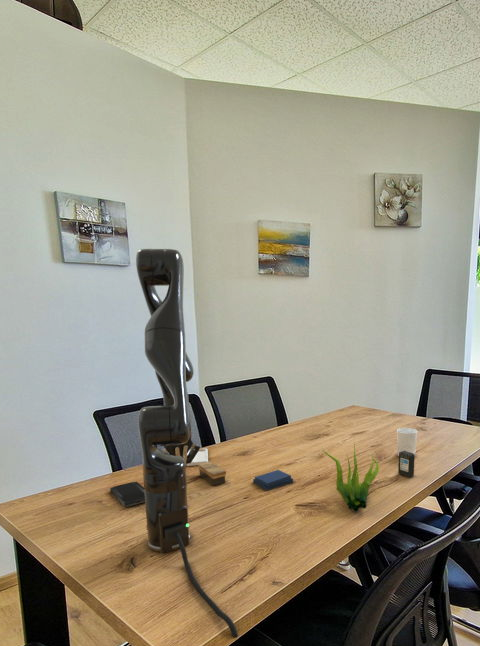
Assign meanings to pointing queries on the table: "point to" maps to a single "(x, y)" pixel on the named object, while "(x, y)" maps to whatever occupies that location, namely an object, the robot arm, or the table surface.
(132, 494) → the phone
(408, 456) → the ink cartridge
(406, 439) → the white cup
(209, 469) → the tan two-tone block
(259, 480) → the folded cloth
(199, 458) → the phone case
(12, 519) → the table surface
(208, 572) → the table surface
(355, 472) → the decorative plant
